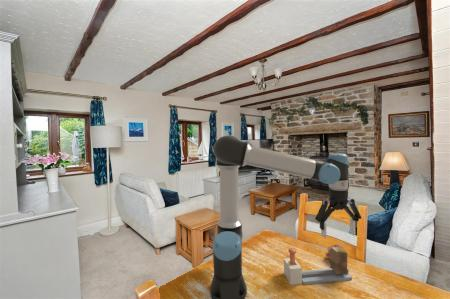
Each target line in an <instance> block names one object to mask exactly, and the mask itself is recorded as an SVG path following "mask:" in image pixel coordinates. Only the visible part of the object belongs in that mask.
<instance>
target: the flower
mask: <svg viewBox="0 0 450 299" xmlns="http://www.w3.org/2000/svg"><path fill="white" fill-rule="evenodd" d="M332 247H341V248H342V249H343V250H345V248H344V246H343V245H340V244H339V243H335V244H333V245H331V246H328V247H327V252H326V253H325V257H326V258H327V259H330V248H332Z"/></svg>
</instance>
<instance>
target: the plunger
mask: <svg viewBox="0 0 450 299" xmlns="http://www.w3.org/2000/svg"><path fill="white" fill-rule="evenodd" d="M288 253H289V258H290V263H291V264H295V259H296V253H297V249H295V248H293V247H292V248H291V247H290V248H288Z"/></svg>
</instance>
